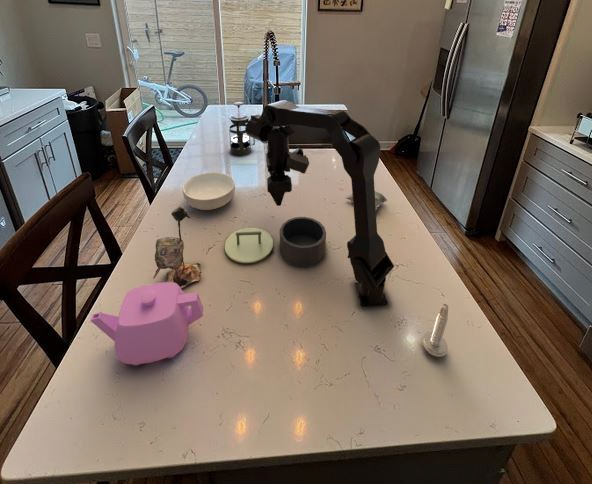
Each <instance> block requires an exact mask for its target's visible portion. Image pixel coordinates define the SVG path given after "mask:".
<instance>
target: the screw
mask: <svg viewBox="0 0 592 484" xmlns="http://www.w3.org/2000/svg"><path fill="white" fill-rule="evenodd" d="M442 305H443V306H442V307H441V309H439V310H440V311H438V313H437V315H436V319H435V322H434V327H433V330H432V331H427V332H426V333H424V334H423V335H422V338H421V342H422V345H423V347H424V348H425V350H426V351H427V352H428V354H429V355H430V356H433V357H434V358H435V357H436V358H437V357H438V358H439V357H440V358H442V357H444V356H446V355H447V353H448V351H449V346H448V343H447V341H446V340H445V338H444V334H445V330H446V326H447V324H448V319H449V305H448V304H447V303H443V304H442Z"/></svg>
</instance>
